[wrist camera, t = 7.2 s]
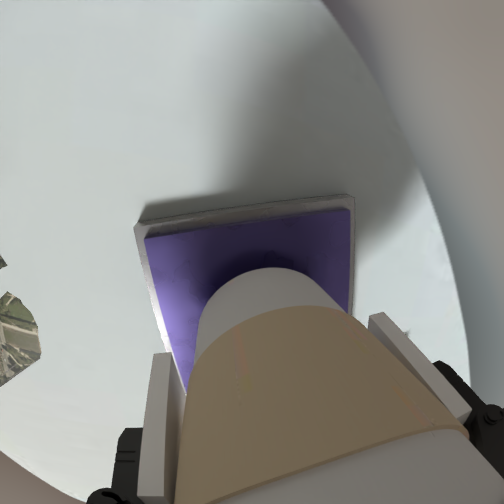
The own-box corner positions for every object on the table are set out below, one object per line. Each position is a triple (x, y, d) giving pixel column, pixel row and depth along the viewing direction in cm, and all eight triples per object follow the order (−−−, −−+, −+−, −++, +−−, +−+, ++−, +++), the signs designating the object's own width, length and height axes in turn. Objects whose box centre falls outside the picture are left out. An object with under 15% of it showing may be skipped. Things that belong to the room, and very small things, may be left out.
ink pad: (137, 222, 15) (131, 230, 13) (346, 193, 16) (359, 199, 15) (181, 384, 19) (181, 400, 17) (341, 354, 20) (349, 368, 19)
